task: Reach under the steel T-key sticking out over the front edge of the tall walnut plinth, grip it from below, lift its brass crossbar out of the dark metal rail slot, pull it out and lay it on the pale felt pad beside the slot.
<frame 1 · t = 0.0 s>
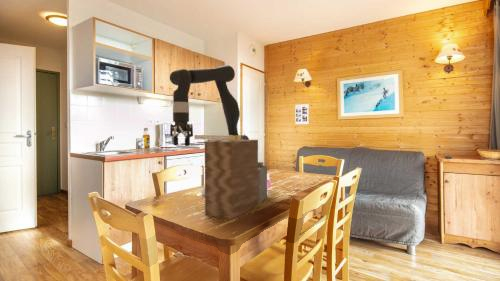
hand: (181, 145, 130), 29 cm above the table, tool pointing down, fingers open, 8 cm apart
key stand: (233, 209, 125), on the table
teacup and saucer: (209, 195, 153), on the table
t key: (215, 139, 121), point 33 cm above the table, touching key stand
hip flask: (260, 200, 141), on the table
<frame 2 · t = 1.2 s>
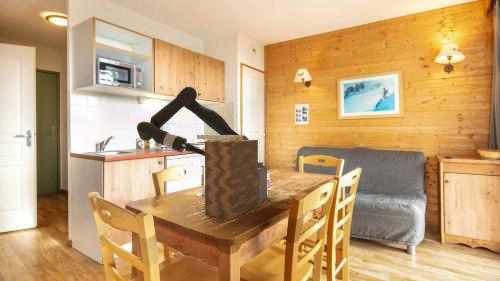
hand: (205, 153, 132), 25 cm above the table, tool tilted 70°, fingers open, 8 cm apart
t key: (217, 139, 121), point 33 cm above the table, touching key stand
everything else where it was.
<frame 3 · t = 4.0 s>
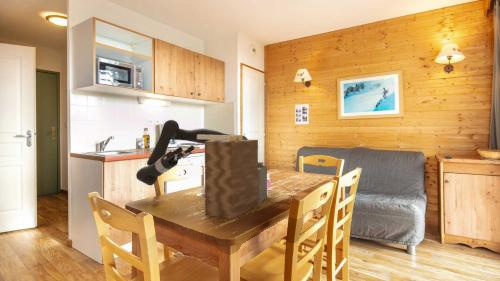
hand: (187, 147, 129), 28 cm above the table, tool pointing upward, fingers open, 8 cm apart
nothing on the table moved.
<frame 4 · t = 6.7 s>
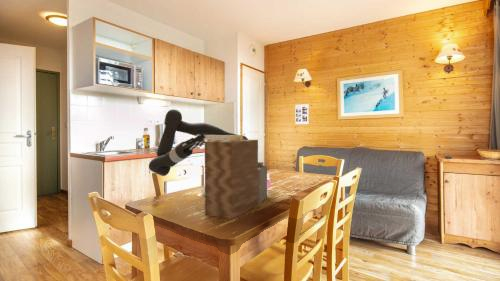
hand: (205, 135, 124), 34 cm above the table, tool pointing upward, fingers closed on t key, 2 cm apart
t key: (217, 139, 121), point 33 cm above the table, touching gripper, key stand
everything else where it was.
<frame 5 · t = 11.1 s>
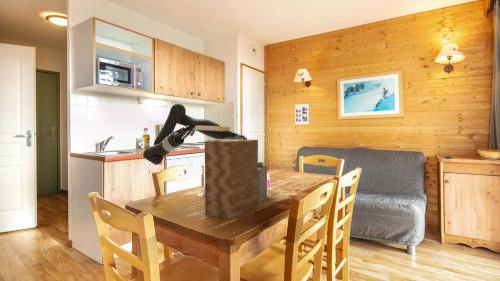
hand: (195, 124, 132), 39 cm above the table, tool pointing upward, fingers closed on t key
t key: (206, 130, 130), point 37 cm above the table, touching gripper
everything else where it was.
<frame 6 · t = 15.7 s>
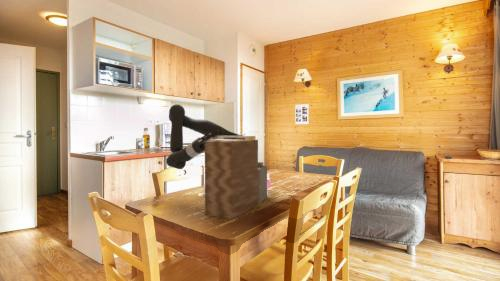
hand: (220, 131, 133), 36 cm above the table, tool pointing upward, fingers open, 4 cm apart
t key: (231, 139, 130), point 32 cm above the table, touching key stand
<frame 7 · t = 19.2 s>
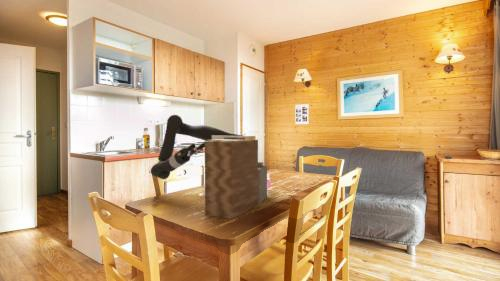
hand: (200, 144, 139), 29 cm above the table, tool pointing upward, fingers open, 8 cm apart
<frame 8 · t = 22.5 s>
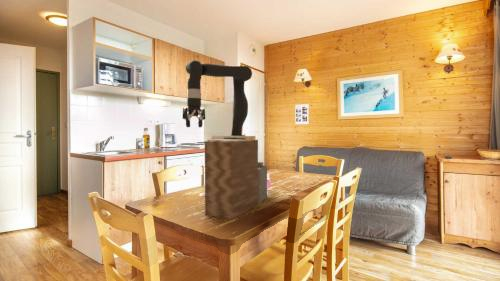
hand: (194, 127, 149), 38 cm above the table, tool pointing down, fingers open, 8 cm apart
at the end: t key inside the target area on the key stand (1.0 cm from its centre), point 32.0 cm above the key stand's base; the gripper is holding nothing; t key tilted 0° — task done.
